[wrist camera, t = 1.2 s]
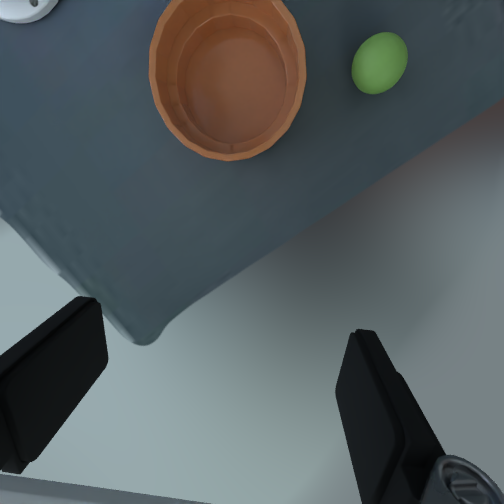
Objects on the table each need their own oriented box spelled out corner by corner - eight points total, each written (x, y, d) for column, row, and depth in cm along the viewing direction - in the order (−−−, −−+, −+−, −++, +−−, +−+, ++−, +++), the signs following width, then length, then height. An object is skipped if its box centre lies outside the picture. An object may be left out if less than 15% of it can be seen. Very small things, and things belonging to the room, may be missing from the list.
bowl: (149, 57, 28) (117, 35, 22) (266, -21, 25) (264, -69, 19) (211, 177, 32) (197, 184, 26) (319, 122, 29) (329, 117, 23)
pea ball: (339, 59, 27) (352, 42, 22) (387, 32, 26) (409, 10, 21) (354, 106, 28) (369, 99, 24) (400, 83, 27) (424, 71, 23)
